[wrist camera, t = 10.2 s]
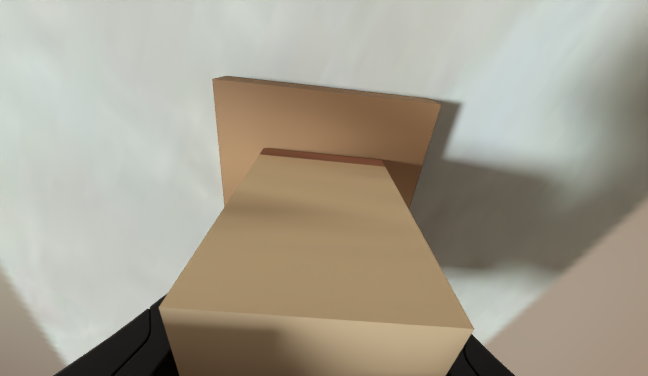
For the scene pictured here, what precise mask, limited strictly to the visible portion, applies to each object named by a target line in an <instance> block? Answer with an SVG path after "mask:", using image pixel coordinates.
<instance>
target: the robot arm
mask: <svg viewBox="0 0 648 376" xmlns="http://www.w3.org/2000/svg"><path fill="white" fill-rule="evenodd" d="M167 294H168V293H167ZM167 294H166V295H165V296H163V297H162V298H161V299H159V300H158V301H157V302H156V303H154V304H153V305H152V306H151V307H150V309H146V310H145V311H144V312H143V313H141V314H140V315H139V316H137V317H136V318H135V319H133V320H132V321H131V322H129V323H128V324H127V325H125V326H124V327H123V328H121V329H120V330H119V331H117V332H116V333H115V334H113V335H112V336H111V337H109V338H108V339H106V340H105V341H103V342H102V343H100V344H99V345H98V346H96V347H95V348H93V349H92V350H90V351H89V352H88V353H86V354H85V355H83V356H82V357H80V358H79V359H77V360H76V361H74V362H73V363H71V364H70V365H68V366H67V367H65V368H64V369H62V370H61V371H59V372H58V373H56V374H55V375H53V376H179V373H178V370H177V366H176V363H175V360H174V356H173V353H172V350H171V346H170V343H169V340H168V337H167V333H166V330H165V327H164V323H163V320H162V317H161V314H160V310H159V306H160V305H161V303H162V302H163V300H164V299H165V297H166V296H167ZM446 376H515V375H514V374H513V373H511V372H510V371H509V370H508V369H507V368H506V367H505V366H504V365H503V364H502V363H501V362H500V361H499V360H497V359H496V358H495V357H494V356H493V355H492V354H491V353H490V352H489V351H488V350H487V349H486V348H485V347H484V346H483V345H482V344H481V343H480V342H479V341H478V340H477V339H476V338H475V337H474V336H473V335H472V334H471V335H470V337H469V338H468V340H467V342H466V343H465V345H464V347H463V348H462V350H461V351H460V353H459V355H458V356H457V358H456V360H455V361H454V363H453V364H452V366H451V368H450V369H449V371H448V373H447V374H446Z"/></svg>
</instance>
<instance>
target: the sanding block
mask: <svg viewBox="0 0 648 376" xmlns="http://www.w3.org/2000/svg"><path fill="white" fill-rule="evenodd" d="M159 310H160V314H161V317H162V320H163V323H164V327H165V330H166V333H167V337H168V340H169V343H170V346H171V350H172V353H173V356H174V360H175V363H176V366H177V370H178V373H179V376H446V374H447V373H448V371H449V369H450V368H451V366H452V364H453V363H454V361H455V360H456V358H457V356H458V355H459V353H460V351H461V350H462V348H463V347H464V345H465V343H466V342H467V340H468V338H469V337H470V335H471V333H472V332H473V330H474V328H473V326H472V324H471V322H470V320H469V319H468V317H467V315H466V313H465V311H464V309H463V308H462V306H461V304H460V302H459V300H458V299H457V297H456V295H455V293H454V291H453V289H452V288H451V286H450V284H449V282H448V280H447V278H446V277H445V275H444V273H443V271H442V269H441V268H440V266H439V264H438V262H437V260H436V258H435V257H434V255H433V253H432V251H431V249H430V247H429V246H428V244H427V242H426V240H425V238H424V237H423V235H422V233H421V231H420V229H419V227H418V226H417V224H416V222H415V220H414V218H413V217H412V215H411V213H410V211H409V209H408V207H407V206H406V204H405V202H404V200H403V198H402V196H401V195H400V193H399V191H398V189H397V187H396V186H395V184H394V182H393V180H392V178H391V176H390V175H389V173H388V171H387V169H386V167H385V165H384V164H383V162H382V160H378V159H368V158H358V157H348V156H338V155H328V154H318V153H308V152H298V151H288V150H277V149H267V148H263V150H262V151H261V153H260V154H259V156H258V157H257V159H256V160H255V162H254V163H253V165H252V166H251V168H250V169H249V171H248V172H247V174H246V175H245V177H244V179H243V180H242V182H241V183H240V185H239V186H238V188H237V189H236V191H235V192H234V194H233V195H232V197H231V198H230V200H229V201H228V203H227V204H226V206H225V207H224V209H223V210H222V212H221V213H220V215H219V217H218V218H217V220H216V221H215V223H214V224H213V226H212V227H211V229H210V230H209V232H208V233H207V235H206V236H205V238H204V239H203V241H202V242H201V244H200V245H199V247H198V248H197V250H196V251H195V253H194V254H193V256H192V258H191V259H190V261H189V262H188V264H187V265H186V267H185V268H184V270H183V271H182V273H181V274H180V276H179V277H178V279H177V280H176V282H175V283H174V285H173V286H172V288H171V289H170V291H169V292H168V294H167V296H166V297H165V299H164V300H163V302H162V303H161V305H160V306H159Z"/></svg>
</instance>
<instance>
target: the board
mask: <svg viewBox="0 0 648 376" xmlns="http://www.w3.org/2000/svg"><path fill="white" fill-rule="evenodd" d="M212 81H213V91H214V101H215V112H216V122H217V133H218V143H219V154H220V164H221V175H222V185H223V195H224V206H226V204H227V203H228V201H229V200H230V198H231V197H232V195H233V194H234V192H235V191H236V189H237V188H238V186H239V185H240V183H241V182H242V180H243V179H244V177H245V175H246V174H247V172H248V171H249V169H250V168H251V166H252V165H253V163H254V162H255V160H256V159H257V157H258V156H259V154H260V153H261V151H262V150H263V148H267V149H277V150H288V151H298V152H308V153H318V154H328V155H338V156H348V157H358V158H368V159H378V160H382V162H383V164H384V165H385V167H386V169H387V171H388V173H389V175H390V176H391V178H392V180H393V182H394V184H395V186H396V187H397V189H398V191H399V193H400V195H401V196H402V198H403V200H404V202H405V204H406V206H407V207H408V209H409V207H410V204H411V201H412V197H413V194H414V191H415V188H416V184H417V181H418V178H419V175H420V172H421V168H422V165H423V162H424V159H425V156H426V152H427V149H428V146H429V143H430V139H431V136H432V133H433V130H434V127H435V123H436V120H437V117H438V114H439V110H440V107H441V104H439V103H437V102H435V101H432V100H430V99H428V98H419V97H410V96H401V95H392V94H383V93H374V92H365V91H356V90H347V89H338V88H329V87H320V86H312V85H303V84H294V83H285V82H276V81H267V80H258V79H249V78H240V77H231V76H224V77H219V78H215V79H212Z"/></svg>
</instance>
